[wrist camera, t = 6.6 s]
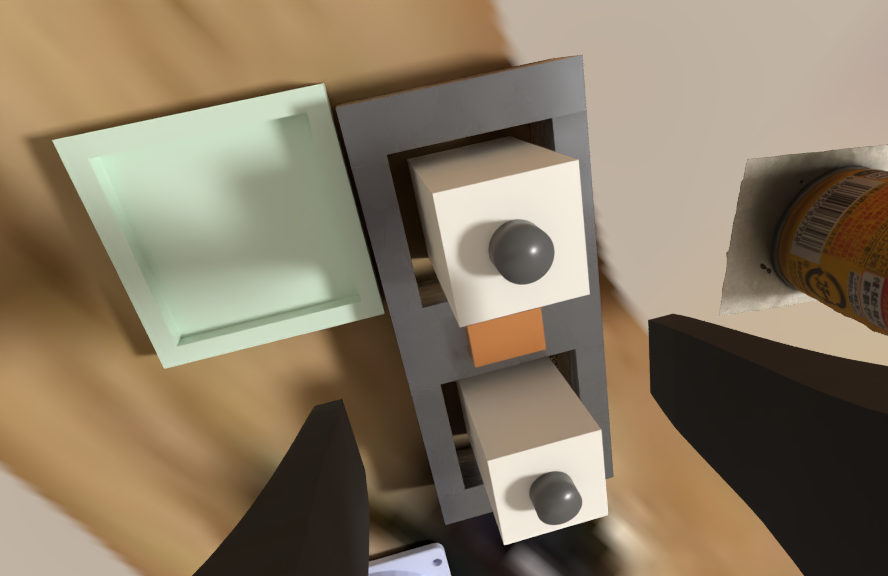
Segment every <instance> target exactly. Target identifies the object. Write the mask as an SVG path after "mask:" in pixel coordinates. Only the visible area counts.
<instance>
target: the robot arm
mask: <svg viewBox="0 0 888 576" xmlns="http://www.w3.org/2000/svg"><path fill="white" fill-rule="evenodd" d="M648 326H649V359H650V392H651V394H652V396H653V397H654V399H655V400H656V402H657V403H658V405H659V406H660V408H661V409H662V410H663V412H664V413H665V415H666V416H667V417H668V419H669V420H670V421H671V423H672V424H673V425H674V427H675V428H676V429H677V430H678V431H679V432H680V434H681V435H682V436H683V437H684V438H685V439H686V440H687V441H688V442H689V443H690V444H691V445H692V447H693V448H694V449H695V450H696V451H697V452H698V453H699V454H700V455H701V456H702V457H703V458H704V459H705V460H706V461H707V462H708V464H709V465H710V466H711V467H712V468H713V469H714V470H715V471H716V472H717V473H718V474H719V475H720V476H721V477H722V478H723V479H724V480H725V481H726V482H727V484H728V485H729V486H730V487H731V488H732V489H733V490H734V491H735V492H736V493H737V494H738V495H739V496H740V497H741V498H742V499H743V500H744V501H745V503H746V504H747V505H748V506H749V507H750V508H751V509H752V510H753V512H754V513H755V514H756V515H757V516H758V517H759V518H760V520H761V521H762V522H763V523H764V524H765V526H766V527H767V528H768V529H769V531H770V532H771V533H772V535H773V536H774V537H775V538H776V540H777V541H778V542H779V544H780V545H781V546H782V547H783V549H784V550H785V551H786V553H787V554H788V555H789V556H790V558H791V559H792V560H793V561H794V563H795V564H796V565H797V567H798V568H799V569H800V571H801V572H802V574H803V575H804V576H888V366H884V365H878V364H872V363H868V362H862V361H856V360H851V359H846V358H841V357H836V356H832V355H827V354H823V353H819V352H815V351H811V350H807V349H802V348H798V347H794V346H790V345H786V344H783V343H779V342H775V341H771V340H768V339H764V338H761V337H757V336H754V335H750V334H747V333H743V332H740V331H737V330H733V329H730V328H726V327H723V326H719V325H716V324H712V323H709V322H705V321H701V320H698V319H694V318H691V317H686V316H682V315H676V314H670V315H666V316H663V317H659V318H655V319H651V320H648ZM435 559H437V560H435ZM192 576H451V573H450V570H449V566H448V562H447V559H446V555H445V551H444V548H443V546H442V545H441V544H439V543H432V544H429V545H425V546H422V547H418V548H415V549H411V550H408V551H404V552H401V553H398V554H394V555H391V556H387V557H384V558H380V559H377V560H373V561H370V562H369V502H368V492H367V483H366V474H365V468H364V465H363V462H362V459H361V456H360V453H359V450H358V447H357V444H356V441H355V437H354V434H353V431H352V428H351V425H350V422H349V419H348V416H347V413H346V410H345V407H344V403H343V400H342V399H340V400H337V401H333V402H329V403H325V404H321V405H317V406H315V407H314V408H313V410H312V411H311V413H310V414H309V416H308V418H307V419H306V421H305V423H304V425H303V426H302V428H301V430H300V431H299V433H298V435H297V437H296V438H295V440H294V442H293V443H292V445H291V447H290V448H289V450H288V452H287V453H286V455H285V457H284V458H283V460H282V461H281V463H280V464H279V466H278V468H277V469H276V471H275V472H274V474H273V476H272V477H271V479H270V480H269V482H268V483H267V485H266V486H265V487H264V489H263V490H262V492H261V493H260V495H259V496H258V497H257V499H256V500H255V502H254V503H253V505H252V506H251V507H250V509H249V510H248V511H247V513H246V514H245V515H244V517H243V518H242V519H241V520H240V522H239V523H238V524H237V526H236V527H235V528H234V529H233V530H232V532H231V533H230V534H229V535H228V536H227V538H226V539H225V540H224V541H223V542H222V544H221V545H220V546H219V547H218V548H217V549H216V551H215V552H214V553H213V554H212V555H211V556H210V557H209V559H208V560H207V561H206V562H205V563H204V564H203V565H202V566H201V567H200V568H199V569H198V570H197V571H196V572H195V573H194V574H193V575H192Z"/></svg>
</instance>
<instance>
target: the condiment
mask: <svg viewBox="0 0 888 576" xmlns="http://www.w3.org/2000/svg"><path fill="white" fill-rule="evenodd" d="M726 255H727V268H726V275H725V280H724V283H723V288H722V300H721V307H720V313H719V315H726V314H736V313H742V312H746V311H758V310H763V309H768V308H779V307H782V306H789V305H795V304H799V303H805V302H812V301H820V302H821V303H823V304H825V305H827V306H828V307H830V308H832V309H833V310H835V311H836V312H838V313H841V314H843V315H844V316H846V317H849V318H852V319H854V320H856V321H858V322H860V323H862V324H864V325H866V326H867V327H868V328H869V329H871V330H872V331H874V332H878V333H881V334H884V335H887V336H888V145H879V146H867V147H857V148H848V149H840V150H830V151H824V152H816V153H813V152H812V153H802V154H790V155H782V156H775V157H766V158H756V159H748V160H747V163H746V167H745V173H744V179H743V180H742V182H741V186H740V193H739V197H738V202H737V210H736V215H735V218H734V222H733V229H732V234H731V241H730V247H729V251H728V252H727V253H726Z"/></svg>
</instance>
